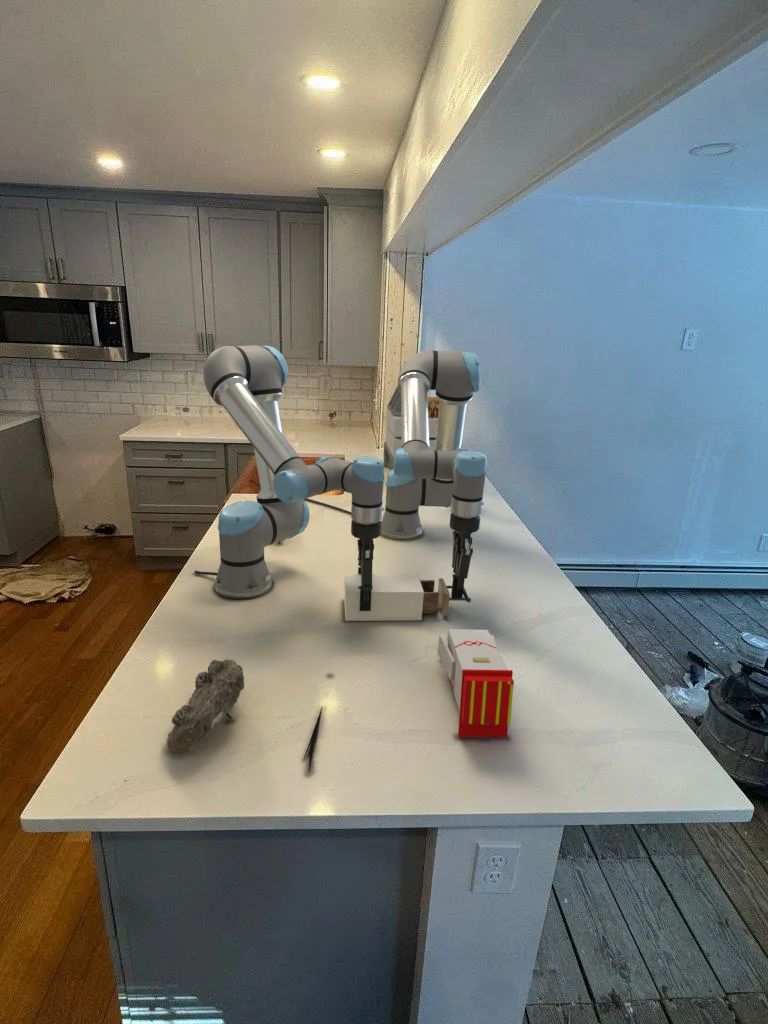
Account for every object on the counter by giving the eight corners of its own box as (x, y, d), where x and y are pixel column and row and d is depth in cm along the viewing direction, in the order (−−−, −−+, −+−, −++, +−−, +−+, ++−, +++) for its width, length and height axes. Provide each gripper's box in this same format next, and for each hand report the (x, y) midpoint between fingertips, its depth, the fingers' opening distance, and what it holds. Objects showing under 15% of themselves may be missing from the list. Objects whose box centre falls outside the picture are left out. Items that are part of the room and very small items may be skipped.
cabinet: (415, 600, 155) (417, 573, 152) (421, 620, 145) (423, 592, 142) (344, 601, 153) (344, 573, 150) (345, 620, 143) (346, 592, 140)
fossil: (192, 660, 117) (244, 628, 112) (224, 691, 120) (276, 661, 115) (142, 746, 98) (202, 712, 93) (182, 779, 101) (242, 748, 96)
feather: (331, 679, 122) (336, 673, 122) (307, 777, 96) (313, 769, 95) (324, 675, 122) (329, 669, 121) (298, 772, 95) (304, 764, 95)
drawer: (462, 598, 155) (464, 578, 153) (470, 615, 147) (472, 594, 145) (374, 598, 153) (375, 578, 150) (376, 616, 144) (377, 594, 142)
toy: (488, 613, 130) (523, 677, 101) (484, 667, 133) (517, 744, 104) (435, 612, 130) (455, 676, 101) (432, 666, 133) (451, 743, 103)
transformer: (382, 463, 289) (386, 382, 275) (445, 464, 293) (451, 384, 279) (390, 482, 257) (394, 392, 243) (460, 483, 261) (468, 394, 247)
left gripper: (386, 537, 129) (382, 622, 137) (377, 504, 151) (374, 579, 158) (353, 537, 129) (351, 622, 136) (349, 504, 150) (347, 579, 158)
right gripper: (486, 523, 136) (476, 610, 144) (474, 505, 148) (465, 586, 156) (456, 522, 135) (447, 610, 143) (446, 504, 147) (438, 586, 155)
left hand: (363, 599), depth 147 cm, fingers closed on cabinet, 10 cm apart
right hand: (456, 597), depth 150 cm, fingers closed
